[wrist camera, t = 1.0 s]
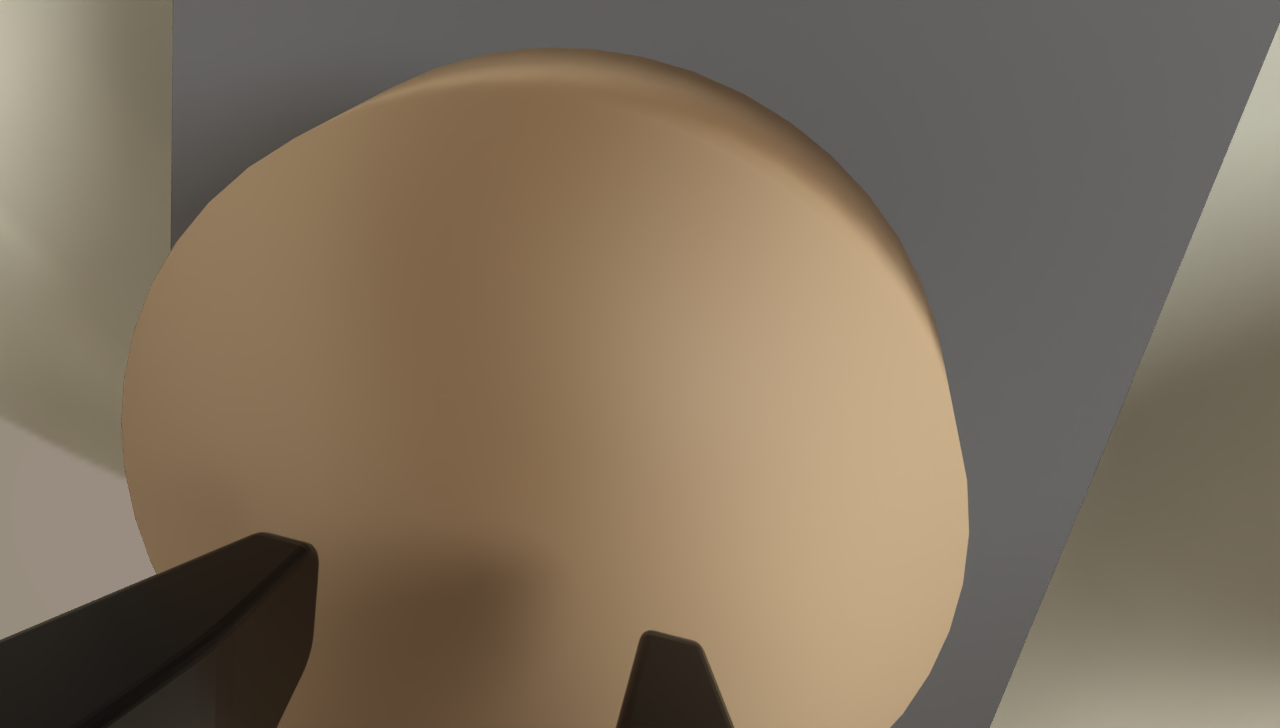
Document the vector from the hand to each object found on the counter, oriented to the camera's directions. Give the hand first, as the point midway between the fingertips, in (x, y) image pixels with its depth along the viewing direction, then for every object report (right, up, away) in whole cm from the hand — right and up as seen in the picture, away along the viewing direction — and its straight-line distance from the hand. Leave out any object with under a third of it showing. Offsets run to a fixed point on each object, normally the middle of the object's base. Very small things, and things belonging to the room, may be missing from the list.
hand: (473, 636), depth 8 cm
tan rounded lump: (+1, +3, +7) cm, 7 cm away
